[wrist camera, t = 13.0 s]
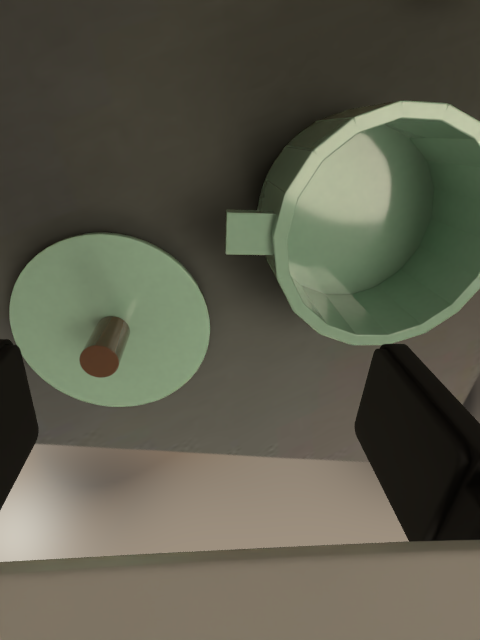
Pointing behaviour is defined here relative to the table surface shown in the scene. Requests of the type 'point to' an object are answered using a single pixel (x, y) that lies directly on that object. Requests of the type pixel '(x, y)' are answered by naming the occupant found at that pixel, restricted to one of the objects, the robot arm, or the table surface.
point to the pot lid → (109, 319)
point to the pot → (372, 220)
